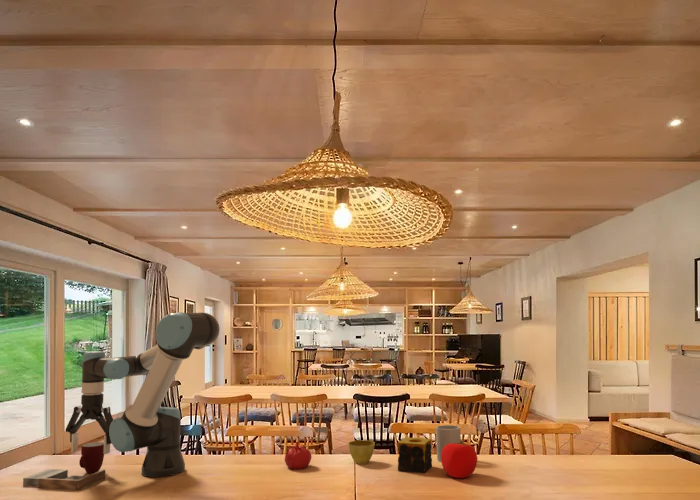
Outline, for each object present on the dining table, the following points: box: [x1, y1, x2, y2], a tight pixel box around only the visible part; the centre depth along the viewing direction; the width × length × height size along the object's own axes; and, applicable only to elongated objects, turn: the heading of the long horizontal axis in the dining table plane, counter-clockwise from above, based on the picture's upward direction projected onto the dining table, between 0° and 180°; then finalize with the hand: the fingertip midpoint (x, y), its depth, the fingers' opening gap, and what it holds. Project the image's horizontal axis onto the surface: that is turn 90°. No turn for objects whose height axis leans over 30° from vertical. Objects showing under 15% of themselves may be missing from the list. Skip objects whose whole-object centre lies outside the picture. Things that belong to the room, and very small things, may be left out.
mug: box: [78, 441, 105, 475], centre depth 217 cm, size 10×8×10 cm
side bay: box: [22, 468, 106, 491], centre depth 206 cm, size 23×14×3 cm, turn 76°
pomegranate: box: [284, 441, 313, 470], centre depth 220 cm, size 10×10×9 cm
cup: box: [435, 424, 462, 463], centre depth 226 cm, size 9×9×12 cm
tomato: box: [441, 440, 478, 479], centre depth 203 cm, size 12×14×11 cm
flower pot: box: [347, 439, 376, 465], centre depth 224 cm, size 10×10×7 cm
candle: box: [397, 436, 433, 474], centre depth 214 cm, size 10×10×10 cm
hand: (90, 452), depth 218 cm, fingers open, 13 cm apart
